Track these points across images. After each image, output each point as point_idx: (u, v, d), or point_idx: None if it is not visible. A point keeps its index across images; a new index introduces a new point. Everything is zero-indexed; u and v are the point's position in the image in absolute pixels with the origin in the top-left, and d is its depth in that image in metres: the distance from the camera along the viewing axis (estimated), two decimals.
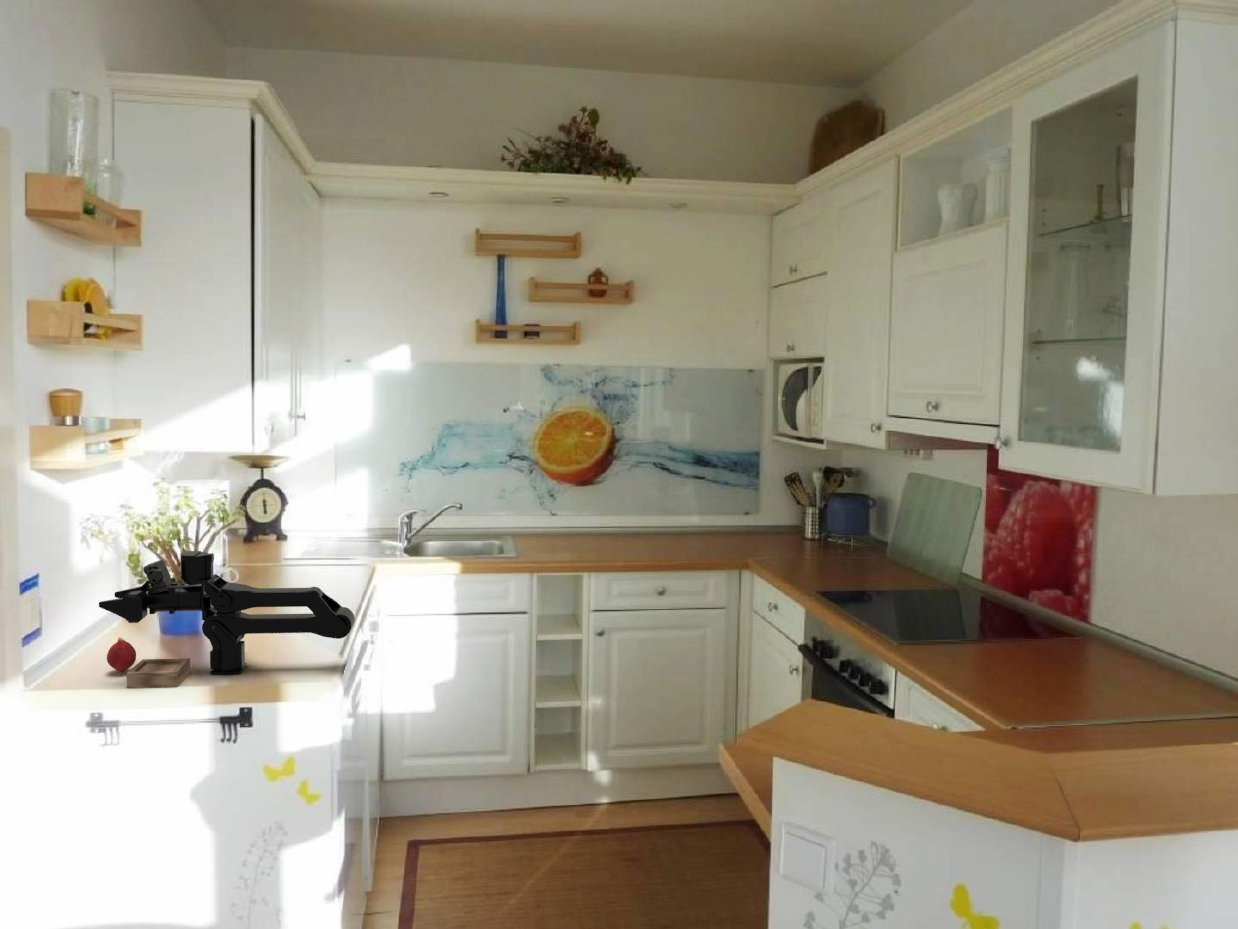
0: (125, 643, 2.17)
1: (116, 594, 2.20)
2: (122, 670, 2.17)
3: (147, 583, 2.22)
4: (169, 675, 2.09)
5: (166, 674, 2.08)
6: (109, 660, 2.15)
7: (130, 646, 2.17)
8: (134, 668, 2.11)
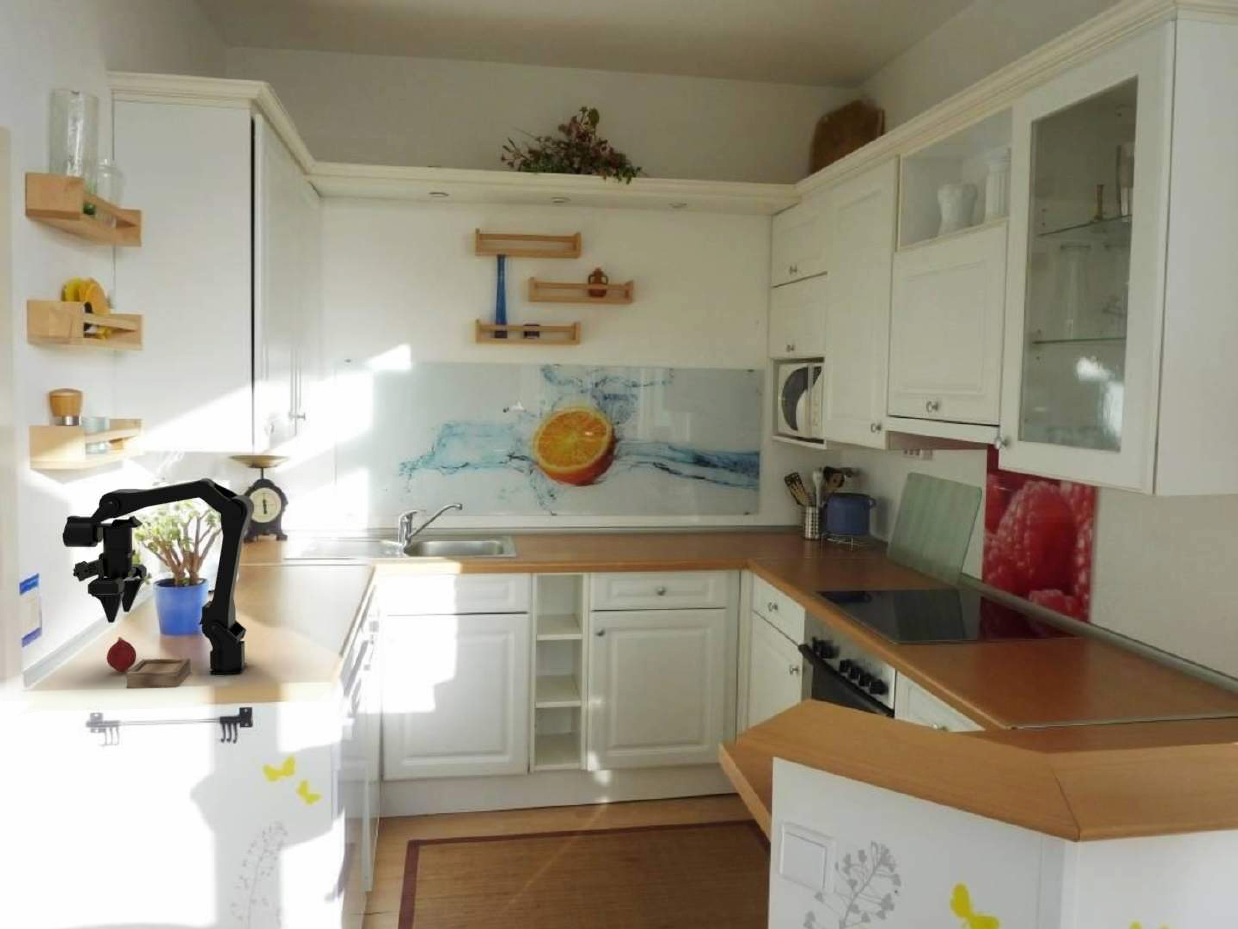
0: (125, 643, 2.17)
1: (125, 610, 2.21)
2: (122, 670, 2.17)
3: None
4: (169, 675, 2.09)
5: (166, 674, 2.08)
6: (109, 660, 2.15)
7: (130, 646, 2.17)
8: (134, 668, 2.11)
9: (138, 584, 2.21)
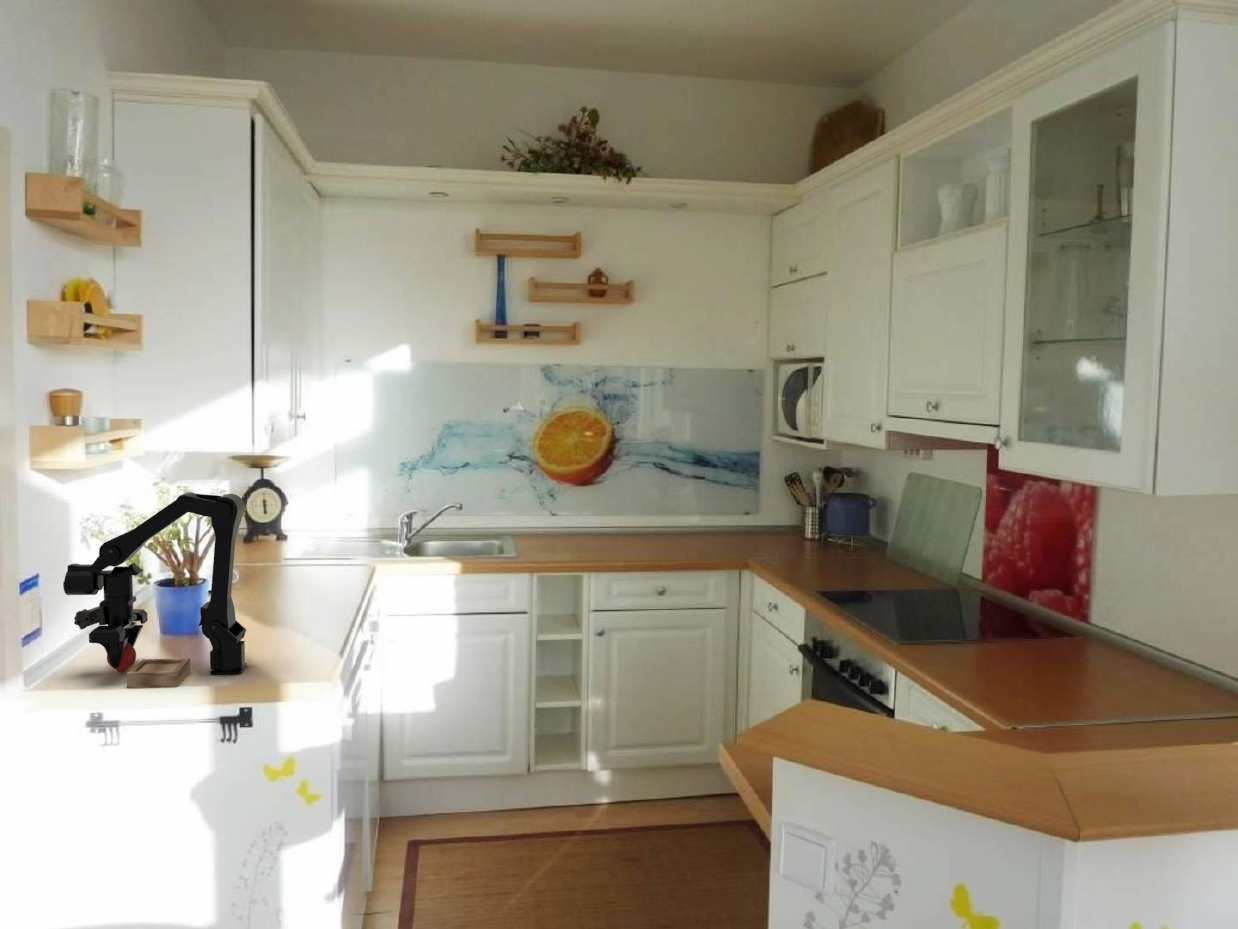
0: None
1: None
2: (122, 670, 2.17)
3: None
4: (169, 675, 2.09)
5: (166, 674, 2.08)
6: (109, 660, 2.15)
7: (130, 646, 2.17)
8: (134, 668, 2.11)
9: (137, 631, 2.21)
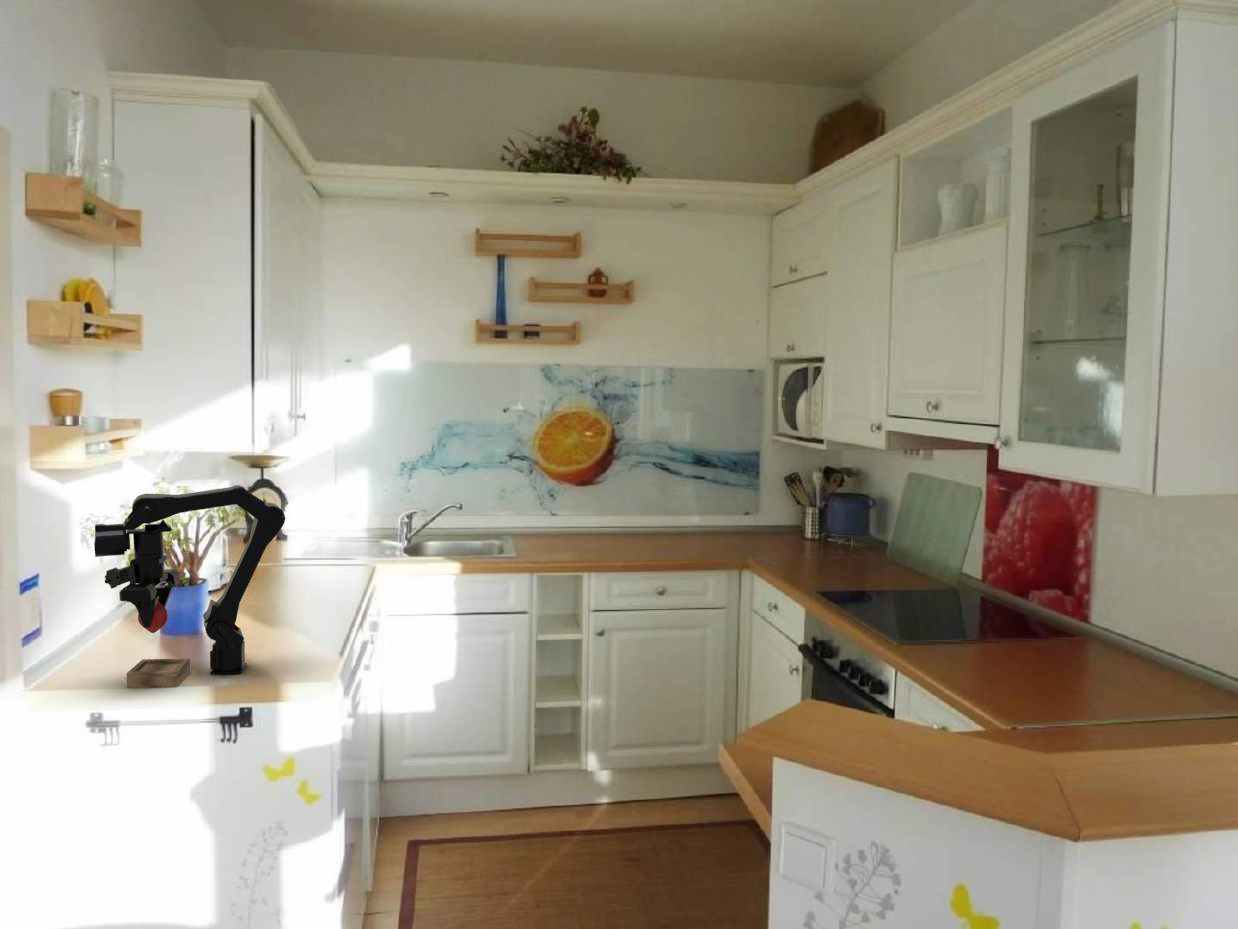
0: None
1: None
2: (154, 630, 2.12)
3: None
4: (169, 675, 2.09)
5: (166, 674, 2.08)
6: (140, 620, 2.10)
7: (161, 606, 2.13)
8: (134, 668, 2.11)
9: (168, 591, 2.16)
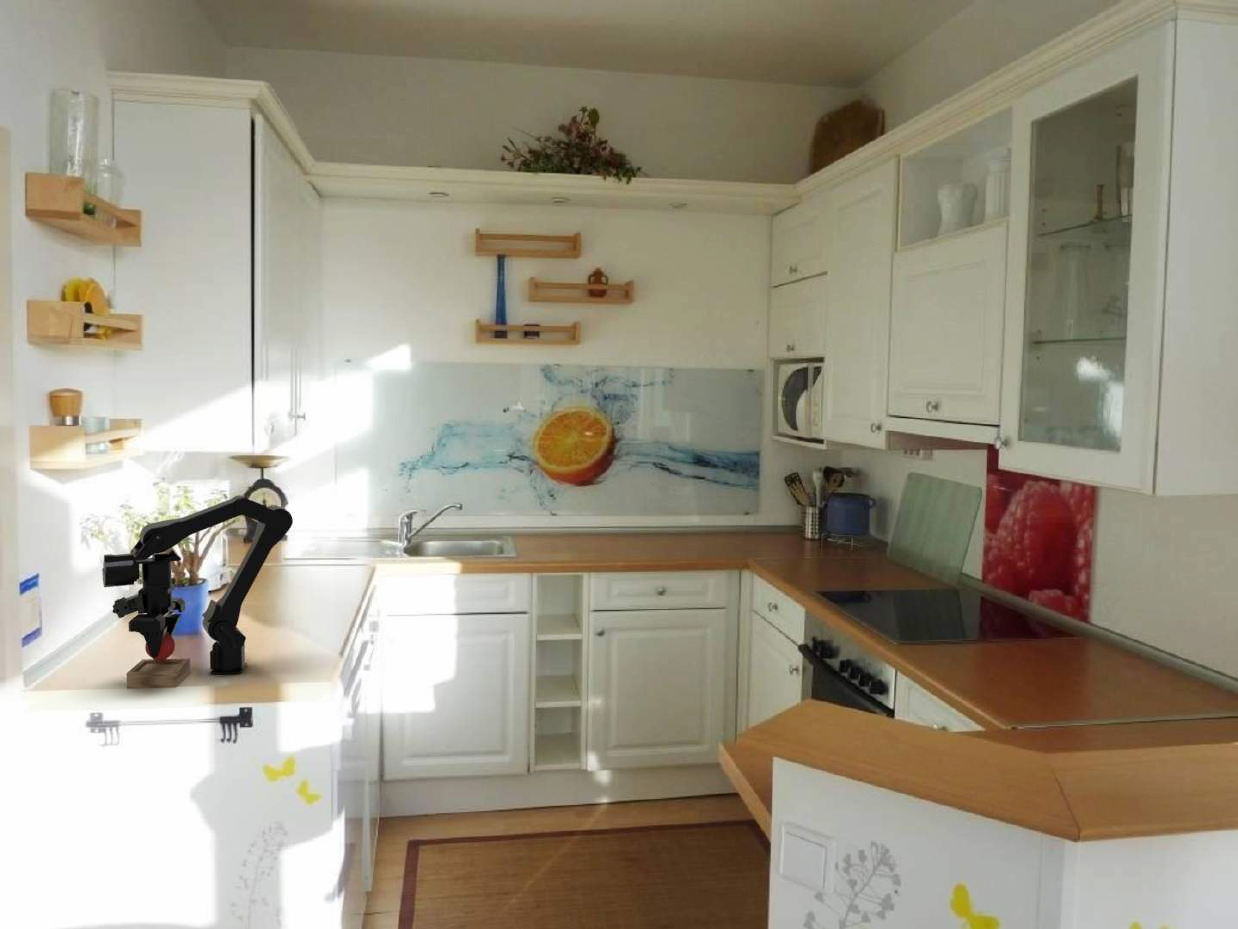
0: None
1: None
2: (161, 660, 2.12)
3: None
4: (169, 675, 2.09)
5: (166, 674, 2.08)
6: (148, 649, 2.10)
7: (169, 635, 2.12)
8: (134, 668, 2.11)
9: (175, 620, 2.16)
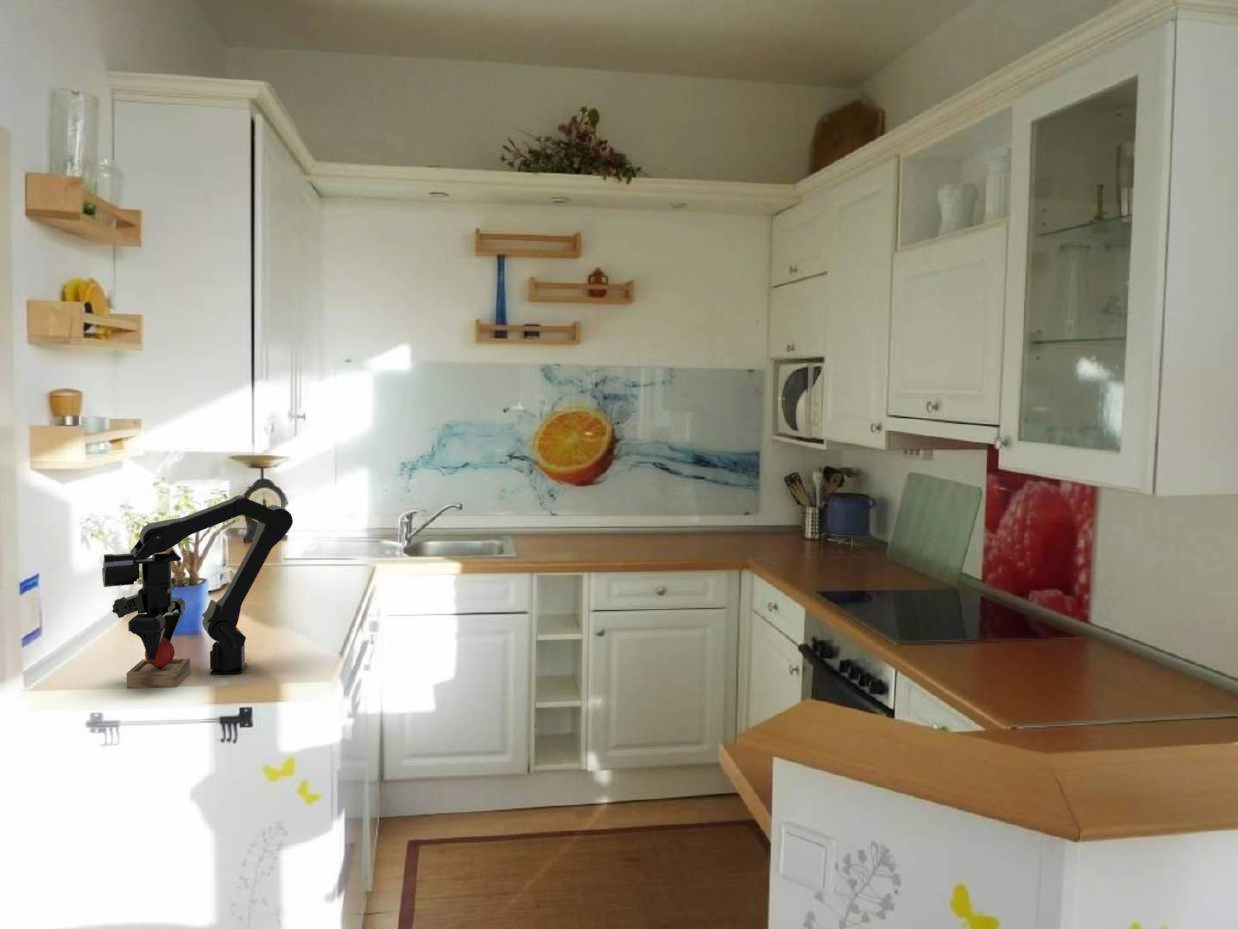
0: (163, 639, 2.12)
1: None
2: (161, 666, 2.12)
3: None
4: (169, 675, 2.09)
5: (166, 674, 2.08)
6: (147, 657, 2.10)
7: (168, 642, 2.12)
8: (134, 668, 2.11)
9: (177, 618, 2.17)
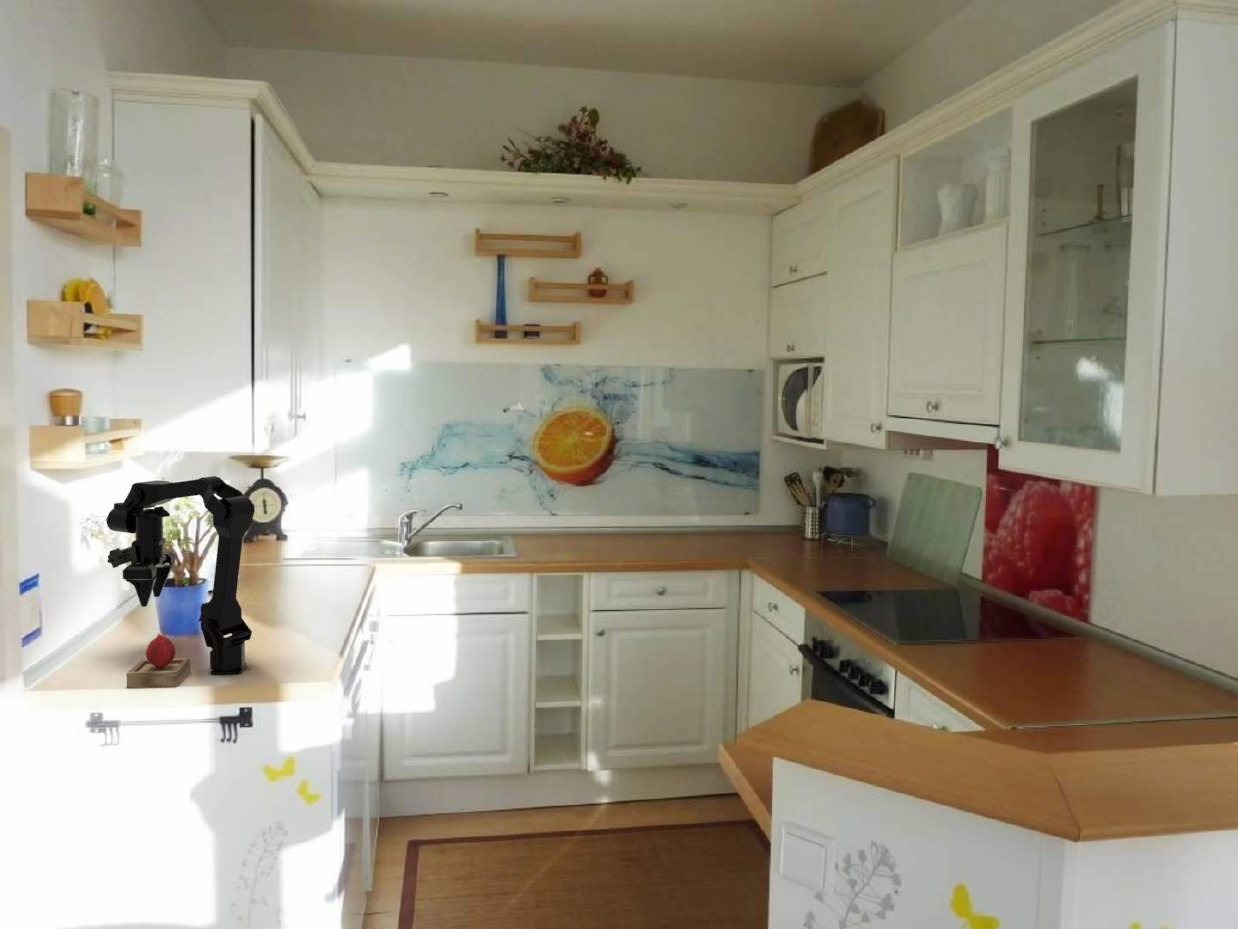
0: (164, 639, 2.12)
1: (156, 595, 2.33)
2: (161, 666, 2.12)
3: None
4: (169, 675, 2.09)
5: (166, 674, 2.08)
6: (148, 656, 2.10)
7: (169, 642, 2.13)
8: (134, 668, 2.11)
9: (168, 570, 2.33)
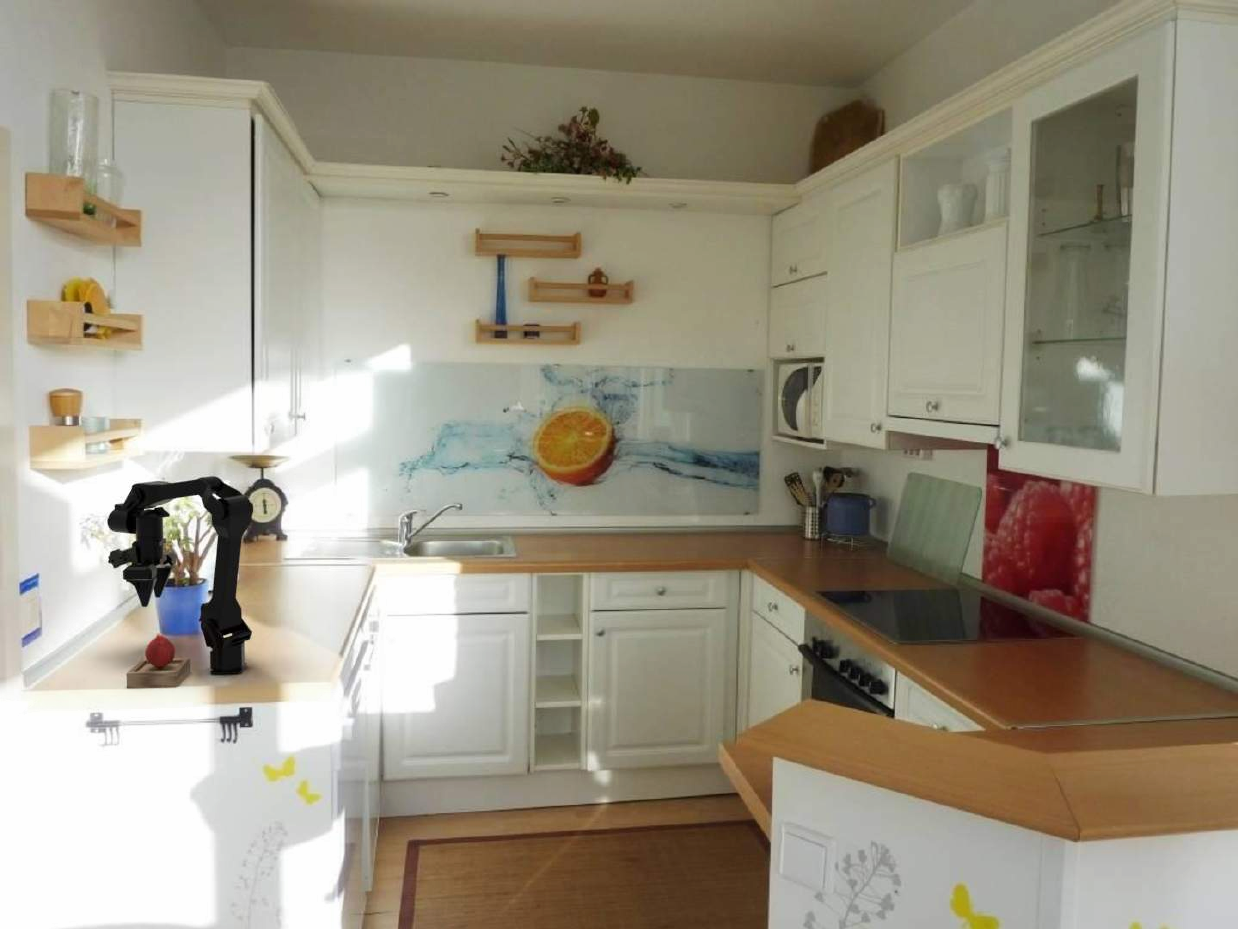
0: (164, 639, 2.12)
1: (157, 595, 2.33)
2: (161, 667, 2.12)
3: None
4: (169, 675, 2.09)
5: (166, 674, 2.08)
6: (147, 656, 2.10)
7: (169, 642, 2.12)
8: (134, 668, 2.11)
9: (168, 571, 2.33)
